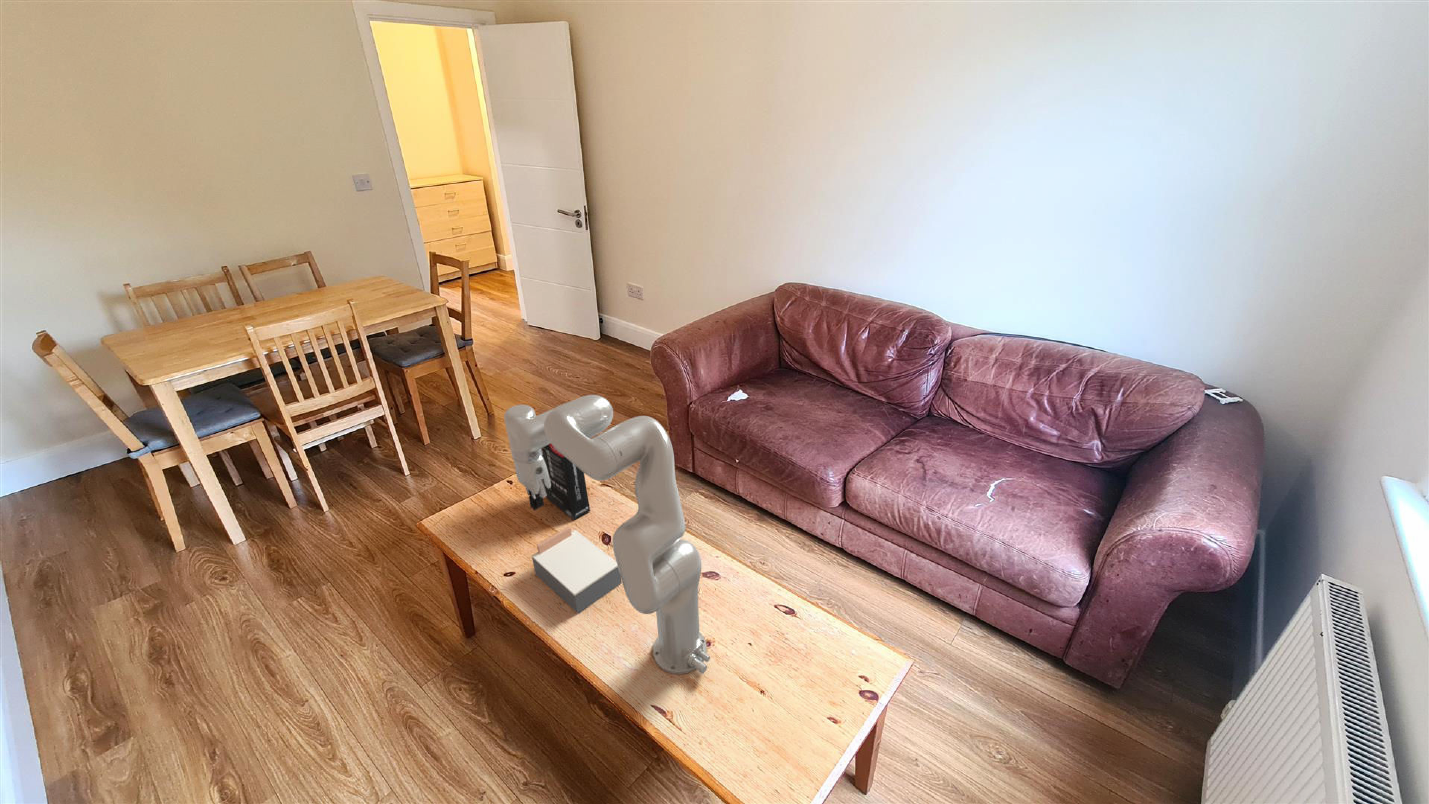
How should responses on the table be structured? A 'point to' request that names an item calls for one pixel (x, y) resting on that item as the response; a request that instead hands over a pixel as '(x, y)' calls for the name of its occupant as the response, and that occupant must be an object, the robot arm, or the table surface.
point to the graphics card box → (565, 484)
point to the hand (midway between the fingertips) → (537, 506)
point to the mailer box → (586, 595)
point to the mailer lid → (573, 560)
